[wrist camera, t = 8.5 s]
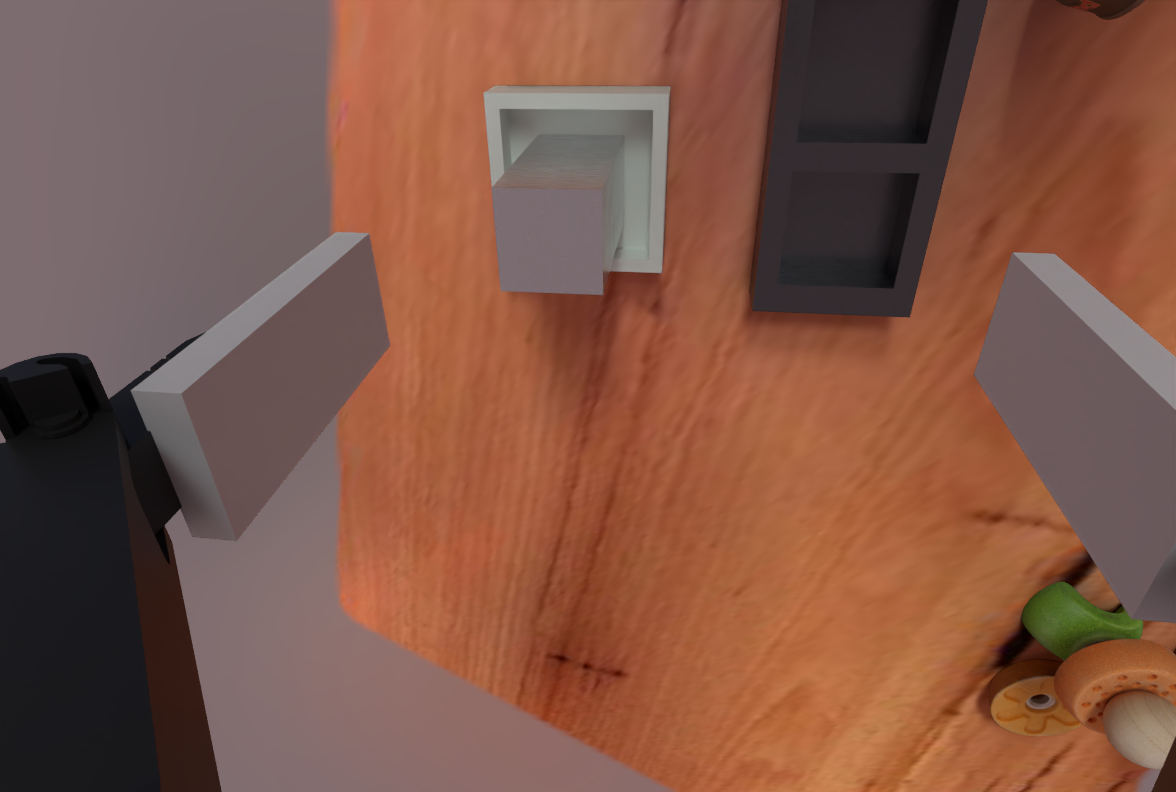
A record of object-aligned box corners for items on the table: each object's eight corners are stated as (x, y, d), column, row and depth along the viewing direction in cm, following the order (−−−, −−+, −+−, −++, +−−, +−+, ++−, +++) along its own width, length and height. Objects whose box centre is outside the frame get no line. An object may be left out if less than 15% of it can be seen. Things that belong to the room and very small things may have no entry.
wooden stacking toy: (951, 698, 63) (1002, 849, 52) (1054, 563, 53) (1141, 713, 43) (1153, 744, 62) (1244, 904, 52) (1292, 616, 53) (1438, 780, 43)
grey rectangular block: (538, 134, 41) (491, 187, 32) (624, 135, 40) (602, 189, 31) (543, 219, 44) (500, 290, 34) (623, 221, 43) (603, 294, 34)
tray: (494, 85, 40) (483, 92, 38) (670, 86, 39) (669, 93, 37) (508, 252, 46) (498, 267, 44) (663, 257, 45) (661, 272, 42)
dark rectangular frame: (786, -44, 35) (793, -43, 33) (977, -47, 34) (999, -47, 32) (749, 290, 45) (752, 310, 42) (897, 296, 44) (909, 317, 41)
